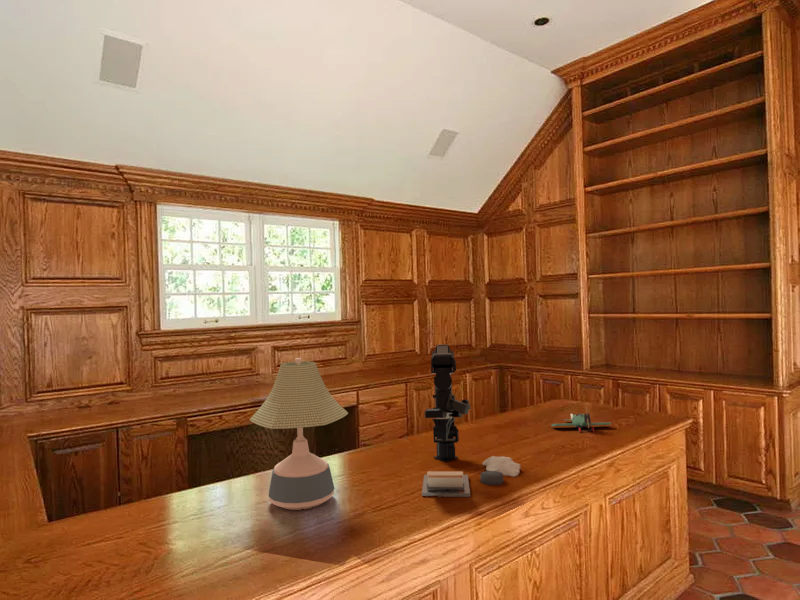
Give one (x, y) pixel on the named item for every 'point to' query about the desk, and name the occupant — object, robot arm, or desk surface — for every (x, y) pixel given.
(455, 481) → the bowl
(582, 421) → the toy airplane
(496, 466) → the decorative stone
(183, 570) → the desk surface
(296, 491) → the desk lamp
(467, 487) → the grey flat slab
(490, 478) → the grey river pebble
